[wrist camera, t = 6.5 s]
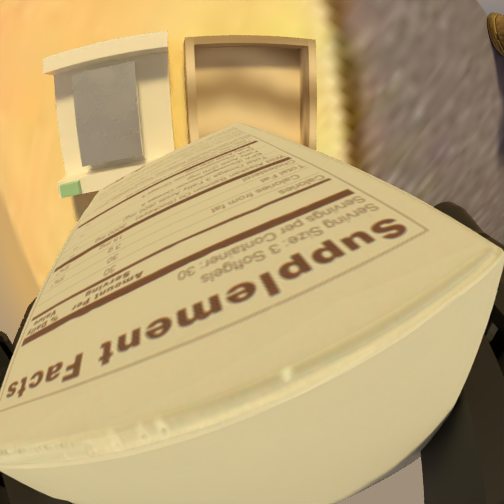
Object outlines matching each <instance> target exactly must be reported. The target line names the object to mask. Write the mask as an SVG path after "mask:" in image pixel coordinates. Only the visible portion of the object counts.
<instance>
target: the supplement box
mask: <svg viewBox="0 0 504 504" xmlns="http://www.w3.org/2000/svg"><path fill="white" fill-rule="evenodd" d="M503 266H504V251H503V250H502V249H501V248H500V247H498V246H497V245H495V244H493V243H492V242H490V241H488V240H487V239H485V238H484V237H482V236H481V235H479V234H478V233H476V232H474V231H473V230H471V229H470V228H468V227H466V226H465V225H463V224H461V223H460V222H458V221H456V220H455V219H453V218H451V217H450V216H448V215H446V214H444V213H443V212H441V211H439V210H437V209H436V208H434V207H432V206H430V205H429V204H427V203H425V202H423V201H422V200H420V199H418V198H416V197H414V196H412V195H411V194H409V193H407V192H405V191H403V190H401V189H399V188H397V187H395V186H393V185H391V184H389V183H387V182H384V181H382V180H380V179H378V178H376V177H374V176H372V175H370V174H368V173H366V172H364V171H362V170H360V169H357V168H355V167H353V166H351V165H349V164H347V163H345V162H342V161H340V160H338V159H335V158H333V157H330V156H328V155H326V154H323V153H321V152H319V151H316V150H314V149H311V148H308V147H306V146H303V145H301V144H298V143H296V142H293V141H291V140H288V139H286V138H283V137H280V136H277V135H275V134H272V133H270V132H267V131H263V130H261V129H258V128H255V127H252V126H249V125H246V124H243V123H239V122H237V123H234V124H232V125H230V126H228V127H225V128H223V129H221V130H218V131H216V132H214V133H211V134H209V135H207V136H205V137H202V138H200V139H198V140H196V141H194V142H191V143H189V144H187V145H185V146H183V147H181V148H179V149H177V150H174V151H172V152H170V153H168V154H166V155H164V156H162V157H160V158H158V159H156V160H154V161H152V162H150V163H148V164H146V165H144V166H142V167H141V168H139V169H137V170H135V171H133V172H131V173H129V174H127V175H126V176H124V177H122V178H120V179H118V180H117V181H115V182H113V183H111V184H110V185H108V186H106V187H104V188H103V189H101V190H100V191H98V193H97V194H96V196H95V197H94V198H93V200H92V201H91V203H90V204H89V206H88V207H87V209H86V210H85V211H84V213H83V214H82V216H81V218H80V219H79V221H78V222H77V224H76V226H75V227H74V229H73V230H72V232H71V234H70V236H69V237H68V239H67V241H66V243H65V244H64V246H63V248H62V250H61V251H60V253H59V255H58V257H57V259H56V260H55V262H54V264H53V266H52V268H51V270H50V272H49V274H48V276H47V278H46V280H45V282H44V284H43V286H42V288H41V290H40V292H39V294H38V296H37V298H36V300H35V303H34V305H33V307H32V309H31V311H30V314H29V316H28V318H27V321H26V323H25V325H24V328H23V330H22V333H21V335H20V338H19V340H18V343H17V345H16V348H15V350H14V353H13V356H12V358H11V361H10V364H9V366H8V369H7V372H6V375H5V378H4V381H3V384H2V387H1V390H0V471H1V472H3V473H5V474H6V475H8V476H10V477H12V478H14V479H16V480H17V481H19V482H21V483H23V484H25V485H27V486H29V487H31V488H33V489H35V490H37V491H39V492H42V493H44V494H46V495H48V496H50V497H53V498H57V499H61V500H66V501H69V502H71V503H72V504H335V503H338V502H340V501H342V500H344V499H346V498H349V497H351V496H353V495H355V494H357V493H359V492H361V491H363V490H364V489H366V488H369V487H371V486H372V485H374V484H376V483H378V482H380V481H382V480H384V479H385V478H387V477H389V476H391V475H392V474H394V473H396V472H398V471H399V470H401V469H402V468H404V467H406V466H407V465H409V464H410V463H412V462H413V461H415V460H416V459H418V458H419V457H421V452H420V451H421V450H422V449H423V448H424V447H425V446H426V445H427V443H428V442H429V441H430V440H431V439H432V437H433V436H434V435H435V433H436V432H437V431H438V430H439V428H440V427H441V426H442V424H443V423H444V422H445V420H446V419H447V417H448V416H449V415H450V413H451V411H452V409H453V407H454V405H455V403H456V401H457V399H458V397H459V395H460V393H461V390H462V388H463V386H464V384H465V381H466V379H467V377H468V374H469V372H470V369H471V367H472V364H473V362H474V359H475V357H476V354H477V351H478V349H479V346H480V343H481V340H482V337H483V334H484V332H485V329H486V326H487V323H488V320H489V317H490V314H491V311H492V308H493V304H494V301H495V297H496V293H497V289H498V285H499V281H500V278H501V274H502V271H503Z"/></svg>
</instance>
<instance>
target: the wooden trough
mask: <svg viewBox="0 0 504 504" xmlns="http://www.w3.org/2000/svg"><path fill="white" fill-rule="evenodd" d="M184 65H185V86H186V103H187V118H188V132H189V143H191V142H194V141H196V140H198V139H200V138H202V137H205V136H207V135H209V134H211V133H214V132H216V131H218V130H221V129H223V128H225V127H228V126H230V125H232V124H234V123H237V122H239V123H243V124H246V125H249V126H252V127H255V128H258V129H261V130H263V131H267V132H270V133H272V134H275V135H277V136H280V137H283V138H286V139H288V140H291V141H293V142H296V143H298V144H301V145H303V146H306V147H308V148H311V149H314V150H316V131H317V82H316V41H315V40H312V39H302V38H291V37H277V36H250V35H229V36H202V37H187V38H185V40H184Z"/></svg>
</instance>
